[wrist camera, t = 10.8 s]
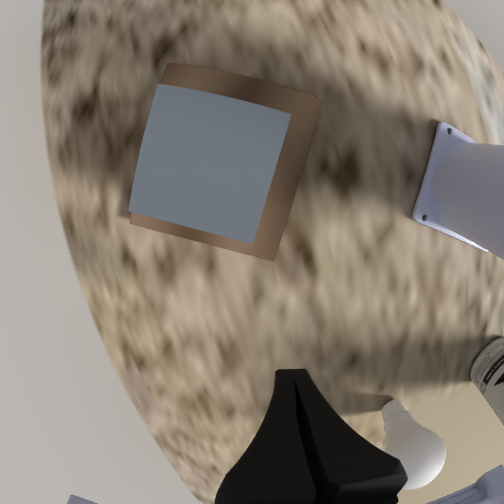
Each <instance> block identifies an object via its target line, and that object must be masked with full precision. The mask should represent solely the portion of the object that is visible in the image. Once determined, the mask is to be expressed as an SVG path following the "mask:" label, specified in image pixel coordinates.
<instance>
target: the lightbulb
mask: <svg viewBox="0 0 504 504" xmlns="http://www.w3.org/2000/svg"><path fill="white" fill-rule="evenodd" d="M381 414H382V418H383V421H384V423H385V425H384V430H385V433H386V448H385V451H384V452H386V453H388V454H390V455H391V456H393V457H395V458H397V459H399V460H400V462H401V463H402V465H403V467H404V469H405V471H406V474H407V477H408V481H407V482H406V484H405V485H404V487H403V488H402V489H416V488H420V487H422V486H424V485H426V484H428V483H429V482H431V481H432V480H433V479H434V478H435V477H436V476H437V475H438V474H439V472H440V471H441V469H442V467H443V465H444V462H445V457H446V449H445V444H444V442H443V440H442V439H441V438H440V437H439V436H438V435H437V434H436V433H434V432H433V431H431V430H429V429H427V428H425V427H423V426H421V425H420V424H419V423H418V422H417V421H416V420H415V419H414V417H413V416H412V414H411V413H410V412H408V411H407V409H406V407H405V406H404V404H403V402H402V401H400V400H393V401H389V402H388V403H387V404H386V405H384V407H383V408H382V410H381Z"/></svg>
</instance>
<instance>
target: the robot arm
mask: <svg viewBox="0 0 504 504" xmlns="http://www.w3.org/2000/svg"><path fill="white" fill-rule="evenodd" d="M447 129H449V131H450V133H449V134H448V132H447ZM424 214H425V218H424V220H422V216H423V215H424ZM412 217H413V219H414V220H415V221H417V222H419V223H421V224H424V225H426V226H429V227H431V228H433V229H436V230H438V231H440V232H443V233H445V234H448V235H450V236H452V237H454V238H457V239H459V240H461V241H463V242H466V243H468V244H470V245H472V246H474V247H477V248H479V249H481V250H483V251H485V252H487V251H489V252H491V253H493V254H495V255H496V256H498V257H500V258H502V259H503V260H504V146H502V145H492V144H480V143H477V142H476V141H474V140H473V139H471V138H470V137H468V136H467V135H465V134H464V133H462V132H461V131H459V130H457V129H456V128H454V127H453V126H451V125H449V124H448V123H446V122H440V123H439V124H438V127H437V131H436V135H435V139H434V143H433V147H432V151H431V155H430V158H429V162H428V165H427V169H426V172H425V176H424V179H423V182H422V186H421V189H420V192H419V195H418V198H417V201H416V204H415V207H414V210H413V213H412ZM407 481H408V477H407V474H406V471H405V469H404V467H403V465H402V463H401V462H400V460H399V459H397V458H395V457H393V456H391V455H390V454H388V453H386V452H384V451H382V450H380V449H379V448H377V447H375V446H374V445H372V444H371V443H370V442H368V441H367V440H366V439H364V438H363V437H362V436H360V435H359V434H358V433H356V432H355V431H354V430H353V429H352V428H351V427H350V426H349V425H348V424H347V423H346V422H345V421H344V420H343V419H342V418H341V417H340V416H339V415H338V414H337V413H336V412H335V411H334V409H333V408H332V407H331V406H330V405H329V403H328V402H327V401H326V399H325V398H324V397H323V395H322V394H321V393H320V391H319V390H318V388H317V387H316V385H315V383H314V382H313V380H312V379H311V377H310V375H309V373H308V371H307V370H306V369H279V370H277V371H275V383H274V392H273V395H272V399H271V402H270V405H269V408H268V410H267V413H266V415H265V418H264V420H263V422H262V424H261V426H260V428H259V430H258V432H257V434H256V435H255V437H254V439H253V440H252V442H251V444H250V445H249V447H248V448H247V450H246V451H245V452H244V454H243V455H242V456H241V458H240V459H239V460H238V462H237V463H236V464H235V465H234V466H233V467H232V469H231V470H230V471H229V472H228V473H227V474H226V475H225V478H224V480H223V481H222V483H221V485H220V487H219V489H218V492H217V494H216V498H215V504H396V503H398V497H397V494H398V492H399V491H400V490H401V489H402V488H403V487H404V485H405V484H406V482H407ZM67 504H97V503H95V502H92V501H89V500H86V499H83V498H81V497H78V496H75V495H70V498H69V501H68V503H67ZM427 504H504V467H503V465H499V466H498V467H496V468H494V469H492V470H490V471H488V472H487V473H485V474H484V475H482V476H481V477H480V478H479V479H478V480H477V482H476V483H474V484H472V485H470V486H468V487H466V488H464V489H461V490H459V491H457V492H454V493H452V494H450V495H447V496H445V497H442V498H440V499H437V500H435V501H432V502H429V503H427Z"/></svg>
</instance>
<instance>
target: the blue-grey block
mask: <svg viewBox="0 0 504 504" xmlns="http://www.w3.org/2000/svg"><path fill="white" fill-rule="evenodd" d="M291 115H292V114H289V113H286V112H283V111H279V110H276V109H272V108H269V107H265V106H262V105H258V104H254V103H251V102H247V101H243V100H239V99H235V98H230V97H226V96H222V95H217V94H213V93H208V92H203V91H198V90H193V89H187V88H182V87H176V86H170V85H164V84H158V85H157V88H156V92H155V95H154V98H153V102H152V105H151V109H150V112H149V116H148V120H147V124H146V128H145V131H144V135H143V140H142V144H141V148H140V152H139V157H138V161H137V166H136V171H135V176H134V181H133V186H132V191H131V197H130V202H129V208H128V211H129V212H133V213H137V214H141V215H145V216H149V217H152V218H156V219H160V220H164V221H167V222H171V223H175V224H179V225H183V226H186V227H190V228H194V229H198V230H201V231H205V232H209V233H212V234H216V235H220V236H224V237H227V238H231V239H235V240H239V241H242V242H246V243H250V244H253V242H254V239H255V235H256V232H257V229H258V225H259V222H260V219H261V215H262V212H263V208H264V205H265V202H266V198H267V195H268V192H269V188H270V185H271V182H272V178H273V175H274V172H275V168H276V165H277V162H278V158H279V155H280V152H281V148H282V145H283V142H284V138H285V135H286V132H287V128H288V125H289V121H290V118H291Z"/></svg>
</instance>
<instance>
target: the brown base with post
mask: <svg viewBox="0 0 504 504" xmlns="http://www.w3.org/2000/svg"><path fill="white" fill-rule="evenodd" d="M161 84H164V85H170V86H176V87H182V88H187V89H193V90H198V91H203V92H208V93H213V94H217V95H222V96H226V97H230V98H235V99H239V100H243V101H247V102H251V103H254V104H258V105H262V106H265V107H269V108H272V109H276V110H279V111H283V112H286V113H289V114H292V115H291V118H290V121H289V125H288V128H287V132H286V135H285V138H284V142H283V145H282V148H281V152H280V155H279V158H278V162H277V165H276V168H275V172H274V175H273V178H272V182H271V185H270V188H269V192H268V195H267V198H266V202H265V205H264V208H263V212H262V215H261V219H260V222H259V225H258V229H257V232H256V235H255V239H254V242H253V244H250V243H246V242H242V241H239V240H235V239H231V238H227V237H224V236H220V235H216V234H212V233H209V232H205V231H201V230H198V229H194V228H190V227H186V226H183V225H179V224H175V223H171V222H167V221H164V220H160V219H156V218H152V217H149V216H145V215H141V214H137V213H133V212H132V214H131V220H130V224H133V225H137V226H141V227H144V228H148V229H152V230H156V231H160V232H163V233H167V234H171V235H175V236H179V237H182V238H186V239H190V240H194V241H198V242H201V243H205V244H209V245H213V246H217V247H220V248H224V249H228V250H232V251H236V252H239V253H243V254H247V255H251V256H255V257H259V258H262V259H266V260H270V261H274V260H275V257H276V254H277V250H278V247H279V244H280V241H281V238H282V235H283V232H284V228H285V225H286V222H287V219H288V216H289V212H290V209H291V206H292V203H293V199H294V196H295V193H296V190H297V186H298V183H299V180H300V176H301V173H302V170H303V167H304V163H305V160H306V157H307V153H308V150H309V146H310V143H311V140H312V136H313V133H314V129H315V126H316V122H317V119H318V116H319V112H320V109H321V105H322V102H323V99H321V98H319V97H316V96H313V95H310V94H307V93H303V92H300V91H297V90H294V89H291V88H287V87H284V86H280V85H277V84H273V83H270V82H266V81H262V80H258V79H254V78H250V77H246V76H242V75H237V74H233V73H228V72H223V71H218V70H213V69H208V68H202V67H197V66H190V65H184V64H177V63H170V62H168V64H167V67H166V70H165V74H164V77H163V80H162V83H161Z"/></svg>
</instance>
